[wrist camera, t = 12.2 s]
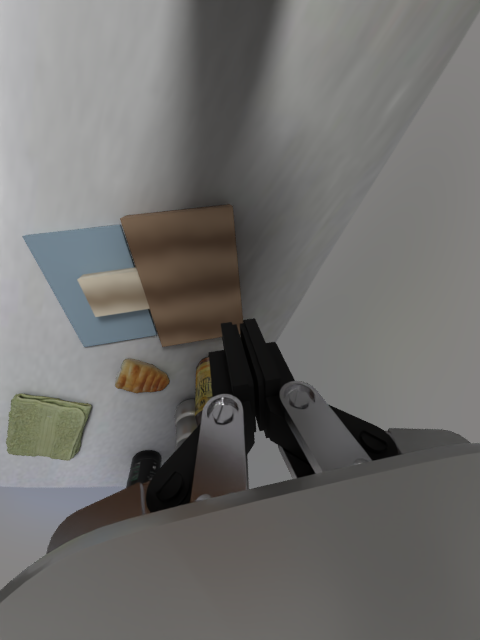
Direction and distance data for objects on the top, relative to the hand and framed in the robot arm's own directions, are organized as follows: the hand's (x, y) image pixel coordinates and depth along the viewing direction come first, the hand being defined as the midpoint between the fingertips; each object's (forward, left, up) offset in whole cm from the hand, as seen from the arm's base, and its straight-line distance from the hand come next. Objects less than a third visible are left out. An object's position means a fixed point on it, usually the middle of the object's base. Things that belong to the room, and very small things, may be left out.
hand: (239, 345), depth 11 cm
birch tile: (+6, -15, -26) cm, 30 cm away
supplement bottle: (+51, -24, -27) cm, 62 cm away
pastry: (+23, -17, -27) cm, 39 cm away
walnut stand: (+6, -3, -27) cm, 28 cm away
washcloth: (+32, -37, -27) cm, 57 cm away
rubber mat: (+6, -17, -27) cm, 32 cm away
